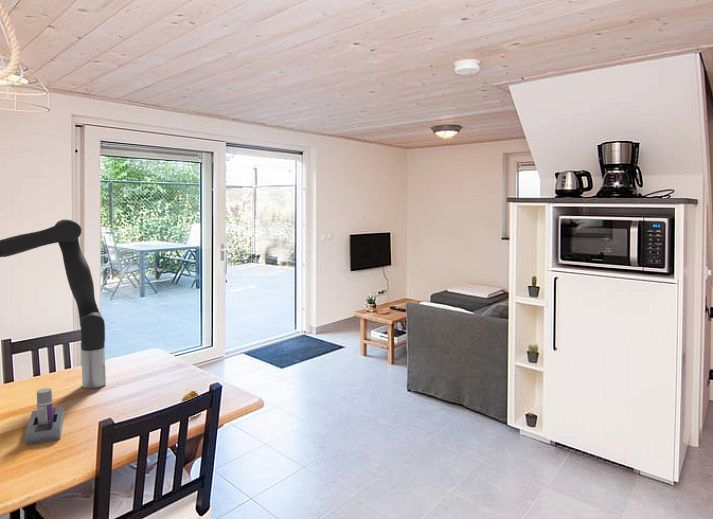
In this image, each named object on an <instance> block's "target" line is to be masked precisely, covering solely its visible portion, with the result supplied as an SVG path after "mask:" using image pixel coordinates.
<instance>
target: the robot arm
mask: <svg viewBox="0 0 713 519" xmlns="http://www.w3.org/2000/svg"><path fill="white" fill-rule="evenodd" d="M81 234H82V226H81V225H80V224H79V223H78V222H77V221H75V220H72V219H61V220H58V221H57V222H56V223H55V224H54V226H51V227H48V228H46V229H42V230H41V229H40V230H37V231H33V232H28V233H21V234H17V235H15V236H9V237H6V238H3V239H0V258H6V257H7V258H8V257H11V256H14V255H18V254H21V253H24V252H28V251H31V250H34V249H38V248H41V247H44V246H48V245H52V244H57V243H58V246H59V248H60V252H61V254H62V260H63V266H64V269H65V274H66V278H67V282H68V286H69V289H70V291H71V294H72V296H73V298H74V301H75V302H76V306H77V311H78V317H79V325H80V338H81V341H80V342H81V343H80V348H81V349H80V351H81V353H80V356H81V379H82V381H81V382H82V387H83V388H84V389H97V388H100V387H104V386H106V384H107V382H106V381H107V378H106V377H107V376H106V375H107V374H106V355H105V354H106V351H105V350H106V348H105V343H106V342H105V341H106V325H105V323H106V322H105V320H104V317H103V316H102V315H101V312H100V309H99V308H98V305H97V302H96V297H95V286H94V279H93V276H92V272H91V268H90V265H89V263H88V261H87V259H86V257H85V256H84V254H83V251H82V249H81V246H80V240H79V237H80V236H81Z"/></svg>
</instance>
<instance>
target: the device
mask: <svg viewBox="0 0 713 519" xmlns="http://www.w3.org/2000/svg"><path fill="white" fill-rule="evenodd" d="M64 408H65V407H64V406H58V407H53V422H51V423H45V424H39V425H38V414H37V410H33V411H31V414H30V419H29V421H28V424H27V427H26V430H25V433H24V436H25V438H24V439H25V446H31V445H36V444H37V445H38V444H43V443H48V442H53V441H58V440H61V436H62V430H63V424H64V418H65V412H64V410H65V409H64Z"/></svg>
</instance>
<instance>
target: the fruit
mask: <svg viewBox="0 0 713 519" xmlns="http://www.w3.org/2000/svg"><path fill="white" fill-rule="evenodd" d="M198 395H199V393H198V392H197V391H196V390H195V391H194V390H192V391H190V392H187V393H186V394H185V395H184V396H183V397H182V398H181V402H182V401H185V400H188V399H190V398H193V397H195V396H198ZM199 396H200V395H199ZM181 402H180V403H181Z"/></svg>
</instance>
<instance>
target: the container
mask: <svg viewBox="0 0 713 519" xmlns="http://www.w3.org/2000/svg"><path fill="white" fill-rule="evenodd" d="M53 402H54V401H53V391H52V388H50V387H44V388H40V389H38V390H36V409H37V410H36V411H37V414H38V425H39V424H45V423H51V422H53V408H54V405H53V404H54V403H53Z"/></svg>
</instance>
